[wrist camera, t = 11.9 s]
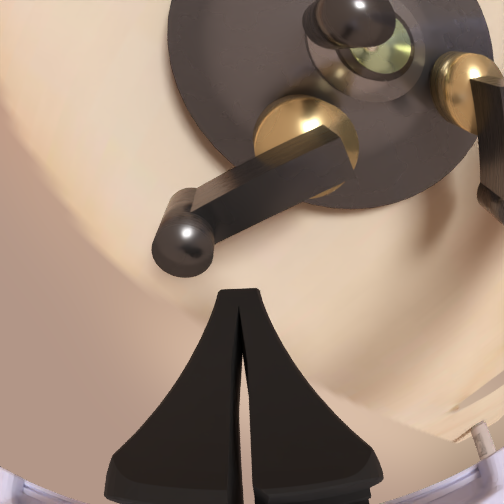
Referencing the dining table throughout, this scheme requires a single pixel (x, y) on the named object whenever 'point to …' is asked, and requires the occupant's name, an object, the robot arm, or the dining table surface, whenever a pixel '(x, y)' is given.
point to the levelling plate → (328, 85)
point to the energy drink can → (483, 440)
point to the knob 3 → (475, 115)
